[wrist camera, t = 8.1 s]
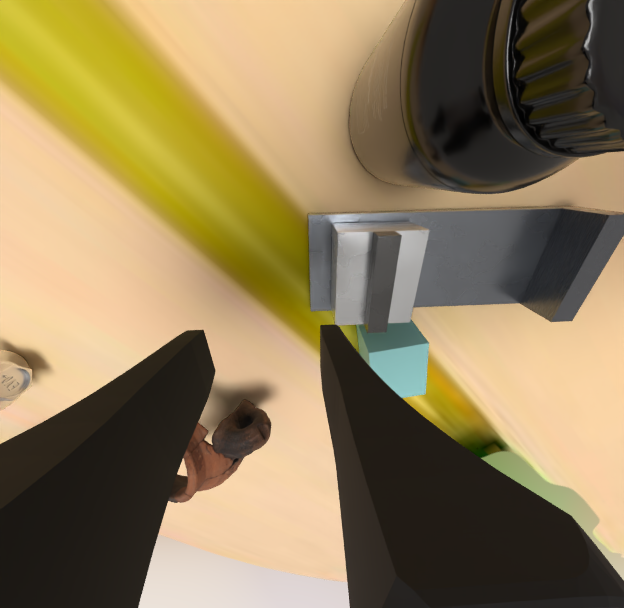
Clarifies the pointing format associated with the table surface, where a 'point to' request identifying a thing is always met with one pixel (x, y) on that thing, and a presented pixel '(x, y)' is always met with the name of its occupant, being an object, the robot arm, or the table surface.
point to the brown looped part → (221, 450)
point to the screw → (13, 377)
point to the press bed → (490, 255)
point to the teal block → (397, 356)
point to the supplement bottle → (490, 92)
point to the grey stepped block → (375, 272)
